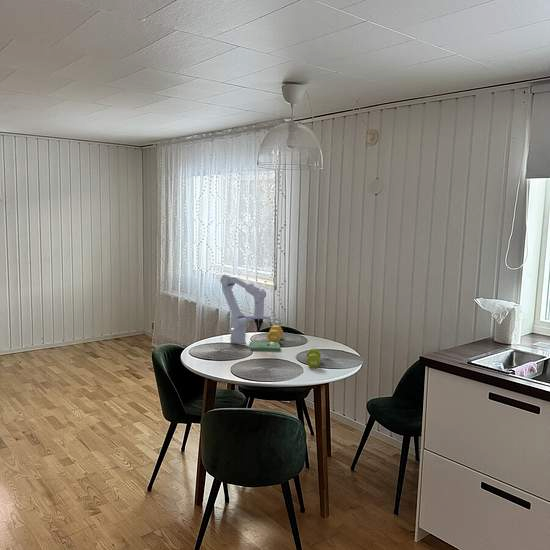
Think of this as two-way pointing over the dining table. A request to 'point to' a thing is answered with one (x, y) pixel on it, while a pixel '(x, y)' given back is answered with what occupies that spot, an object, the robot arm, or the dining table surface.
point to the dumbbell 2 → (275, 334)
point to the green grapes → (313, 358)
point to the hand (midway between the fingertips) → (258, 331)
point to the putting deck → (264, 346)
